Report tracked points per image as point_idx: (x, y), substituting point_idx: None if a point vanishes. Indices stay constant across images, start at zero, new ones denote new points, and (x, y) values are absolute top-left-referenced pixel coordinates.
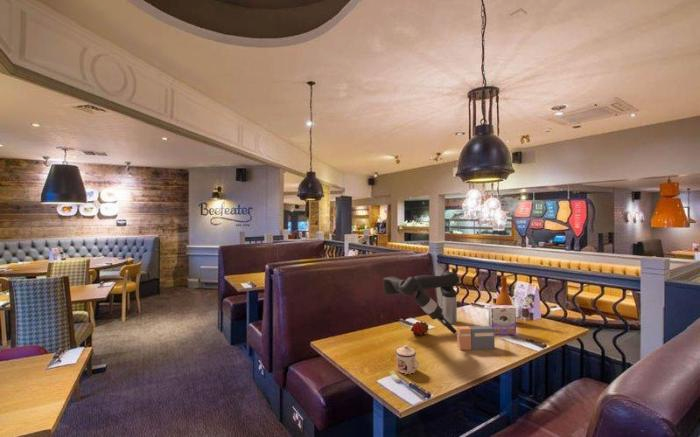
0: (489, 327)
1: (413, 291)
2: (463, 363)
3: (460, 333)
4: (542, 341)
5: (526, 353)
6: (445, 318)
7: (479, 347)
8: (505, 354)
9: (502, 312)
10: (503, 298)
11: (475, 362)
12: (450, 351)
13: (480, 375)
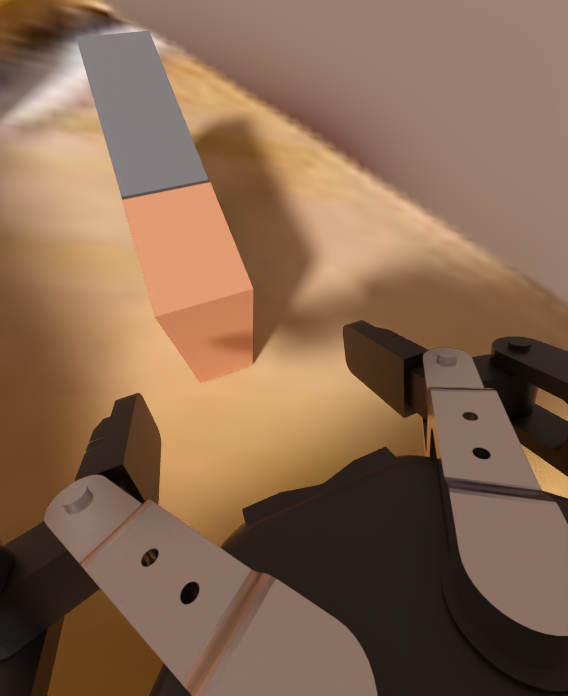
0: (123, 52)
1: None
2: None
3: (250, 308)
4: (47, 5)
5: (207, 84)
6: (532, 487)
7: None
8: (243, 155)
9: None
10: None
11: (392, 289)
12: (291, 430)
13: (516, 278)
